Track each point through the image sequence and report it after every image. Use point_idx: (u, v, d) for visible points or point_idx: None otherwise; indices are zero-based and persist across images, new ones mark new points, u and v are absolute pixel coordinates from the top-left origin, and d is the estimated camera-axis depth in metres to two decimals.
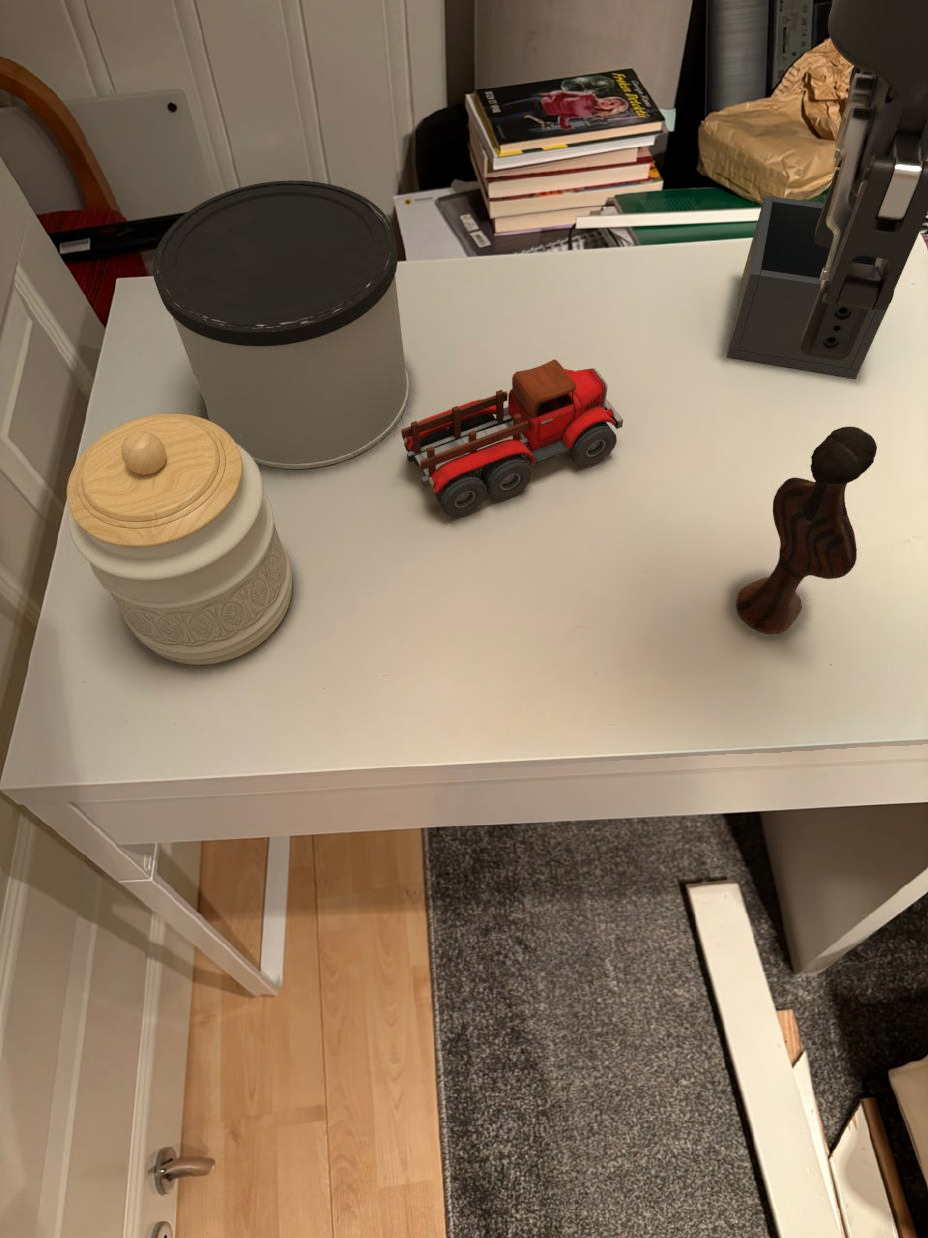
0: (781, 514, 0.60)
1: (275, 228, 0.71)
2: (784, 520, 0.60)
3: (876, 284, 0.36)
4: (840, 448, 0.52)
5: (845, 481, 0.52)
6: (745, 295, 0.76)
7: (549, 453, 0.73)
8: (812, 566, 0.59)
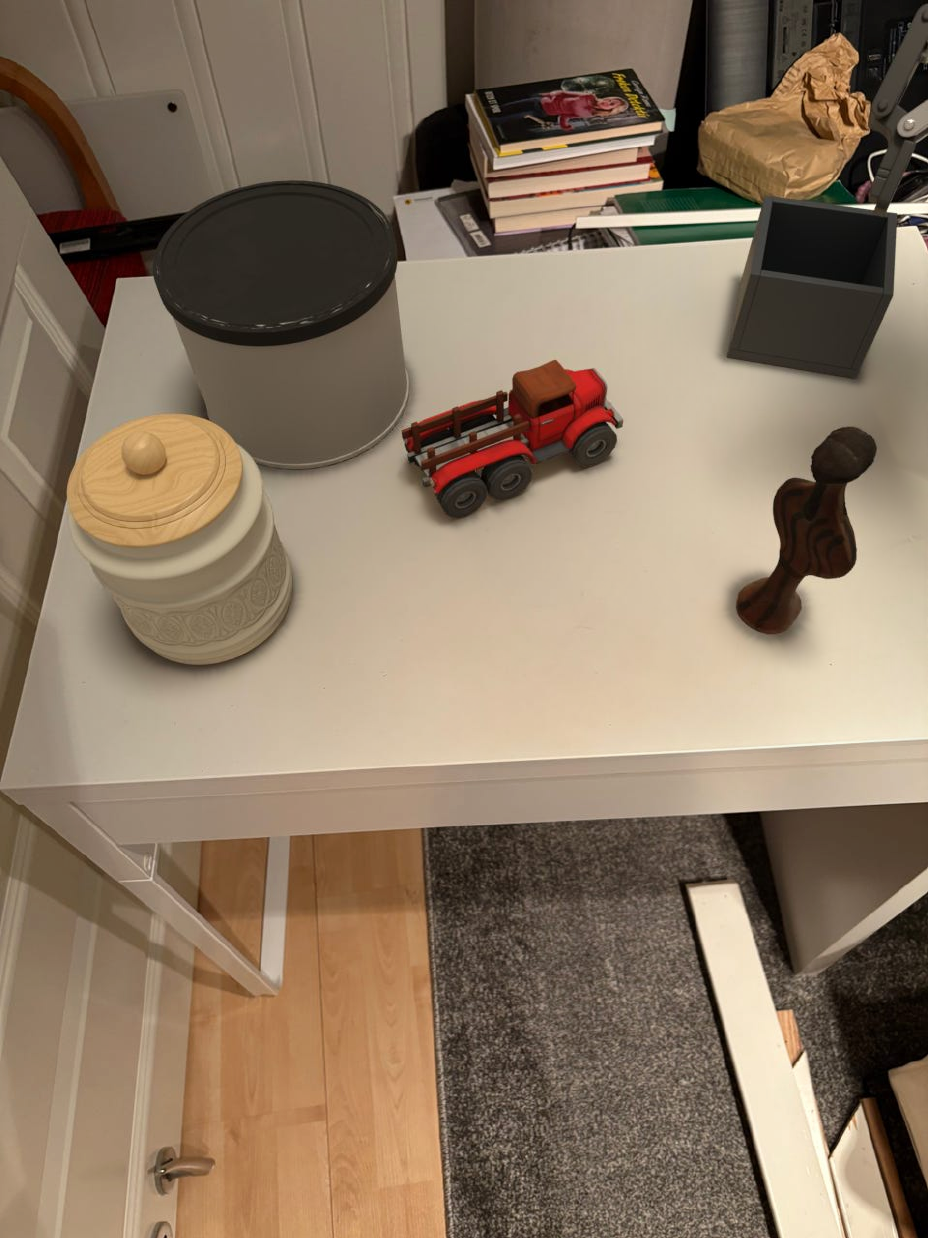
0: (781, 514, 0.60)
1: (275, 228, 0.70)
2: (784, 520, 0.60)
3: None
4: (840, 448, 0.52)
5: (845, 481, 0.52)
6: (745, 295, 0.76)
7: (549, 453, 0.73)
8: (812, 566, 0.59)
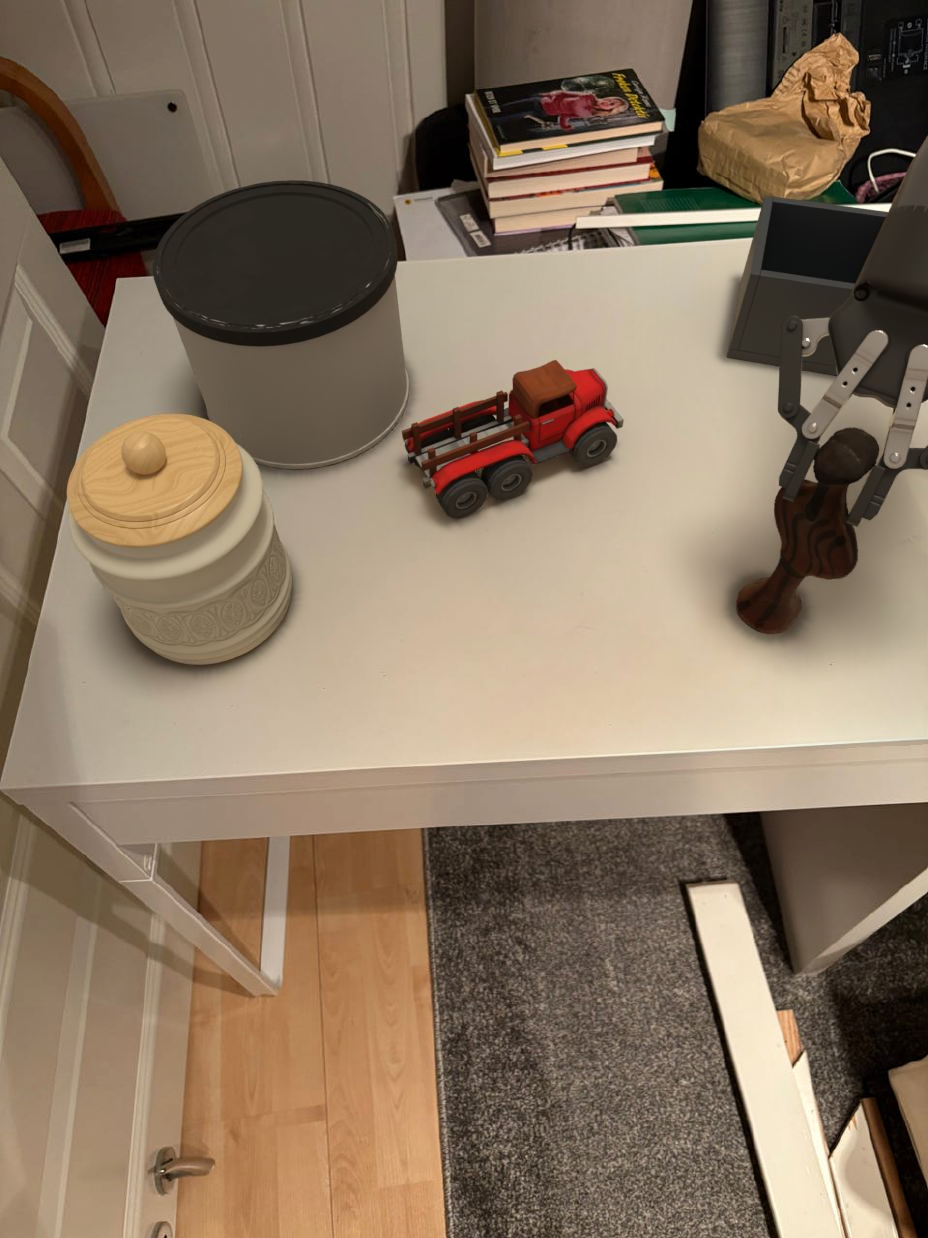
0: (782, 514, 0.60)
1: (275, 228, 0.70)
2: (785, 520, 0.60)
3: None
4: (842, 449, 0.52)
5: (848, 482, 0.52)
6: (745, 295, 0.76)
7: (550, 453, 0.73)
8: (813, 567, 0.59)
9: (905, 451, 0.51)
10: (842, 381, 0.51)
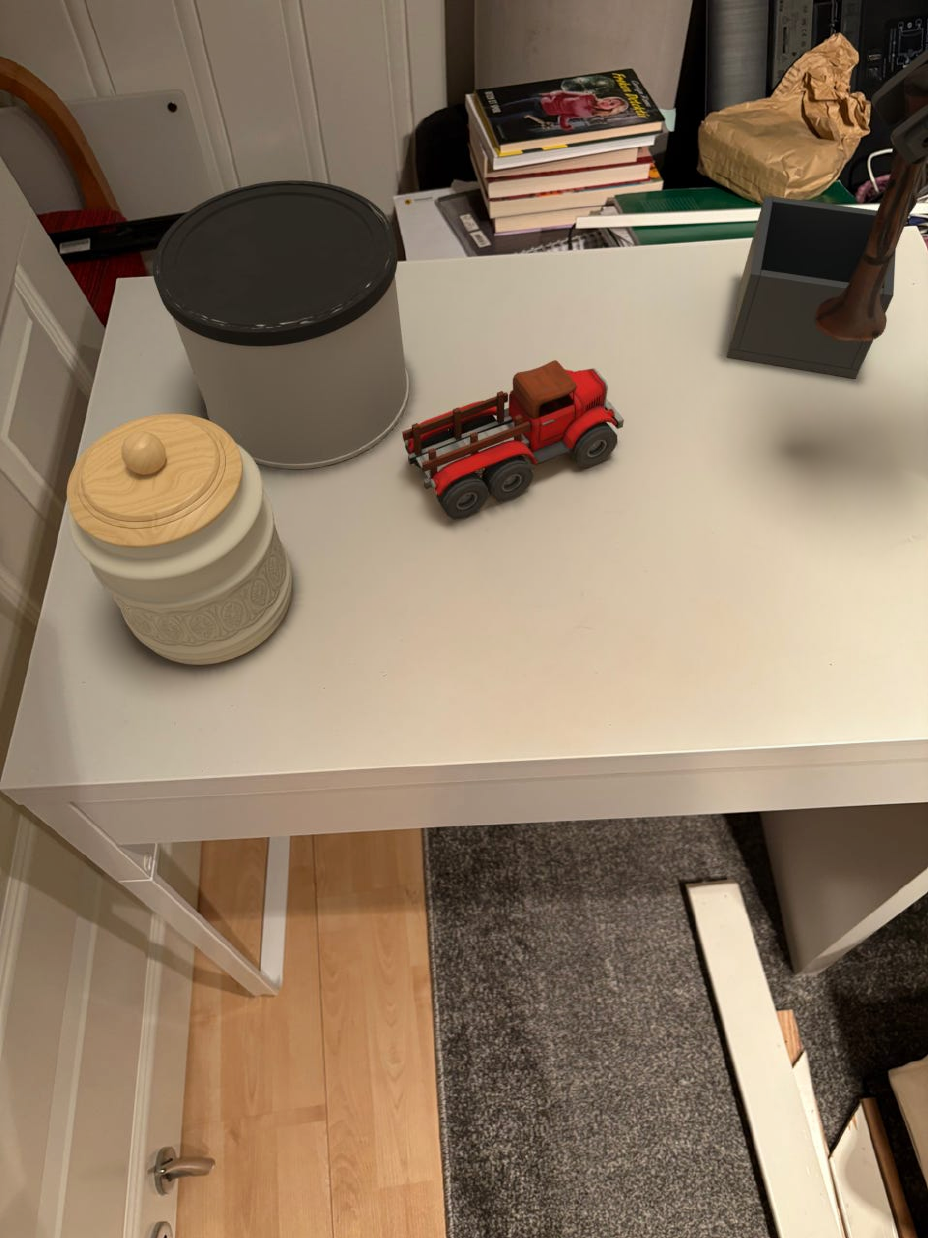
0: None
1: (275, 228, 0.70)
2: None
3: None
4: None
5: (916, 91, 0.50)
6: (745, 295, 0.76)
7: (550, 454, 0.73)
8: None
9: None
10: None
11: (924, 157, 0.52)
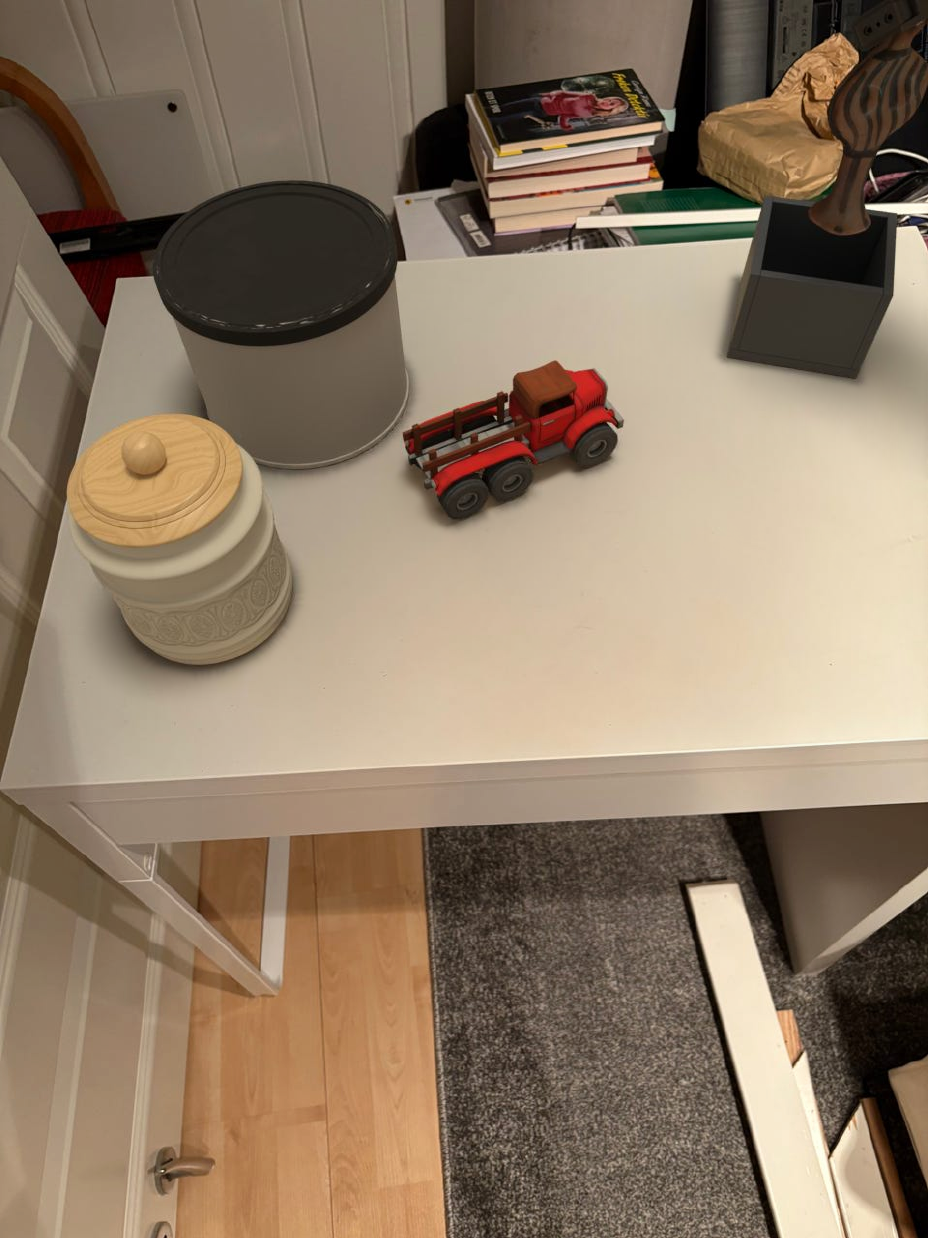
0: None
1: (275, 228, 0.70)
2: None
3: None
4: None
5: None
6: (745, 295, 0.76)
7: (550, 454, 0.73)
8: None
9: None
10: None
11: (883, 56, 0.63)
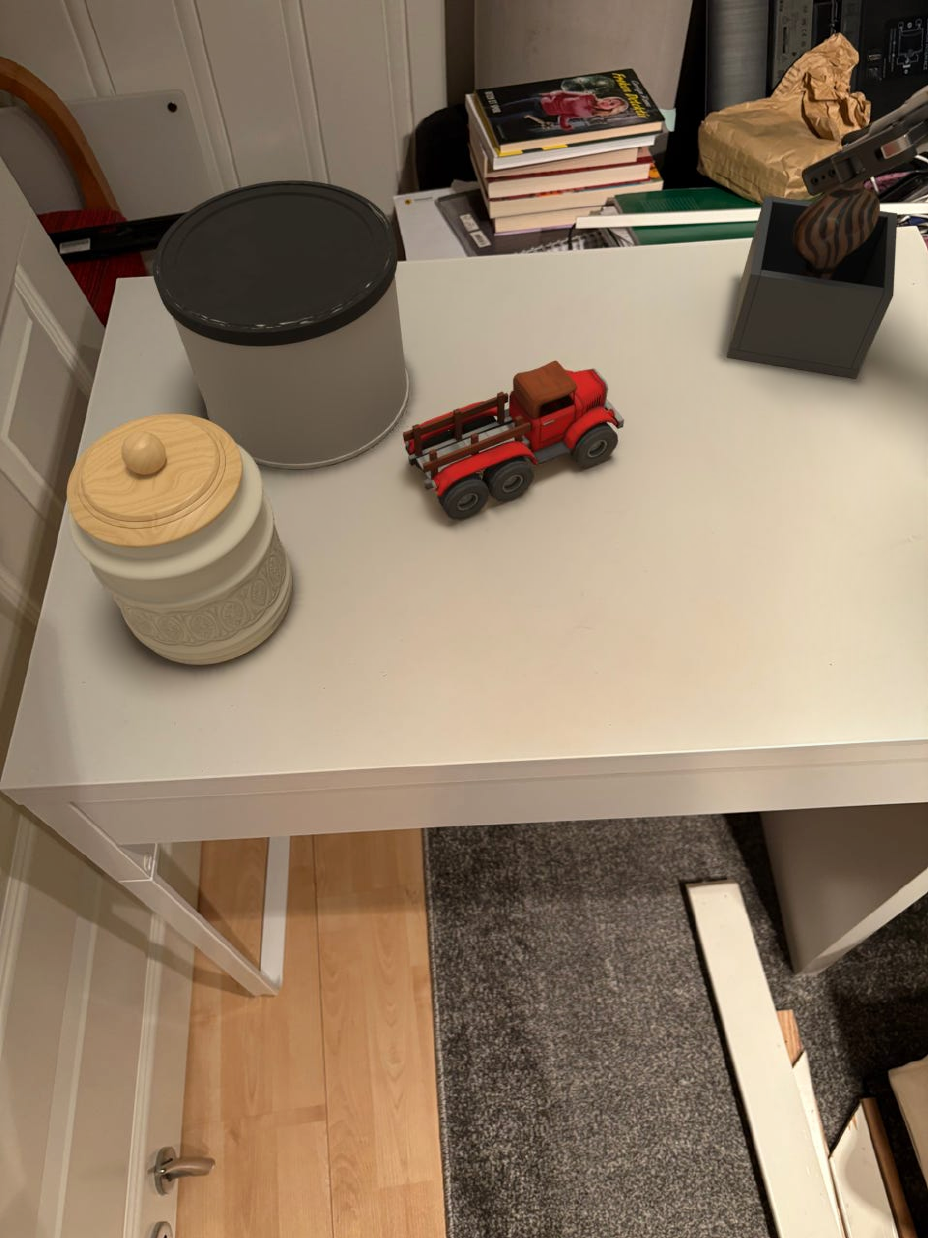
0: None
1: (275, 228, 0.70)
2: None
3: None
4: (868, 128, 0.68)
5: (841, 141, 0.69)
6: (745, 295, 0.76)
7: (551, 454, 0.73)
8: None
9: (851, 144, 0.65)
10: (927, 86, 0.66)
11: (839, 195, 0.72)
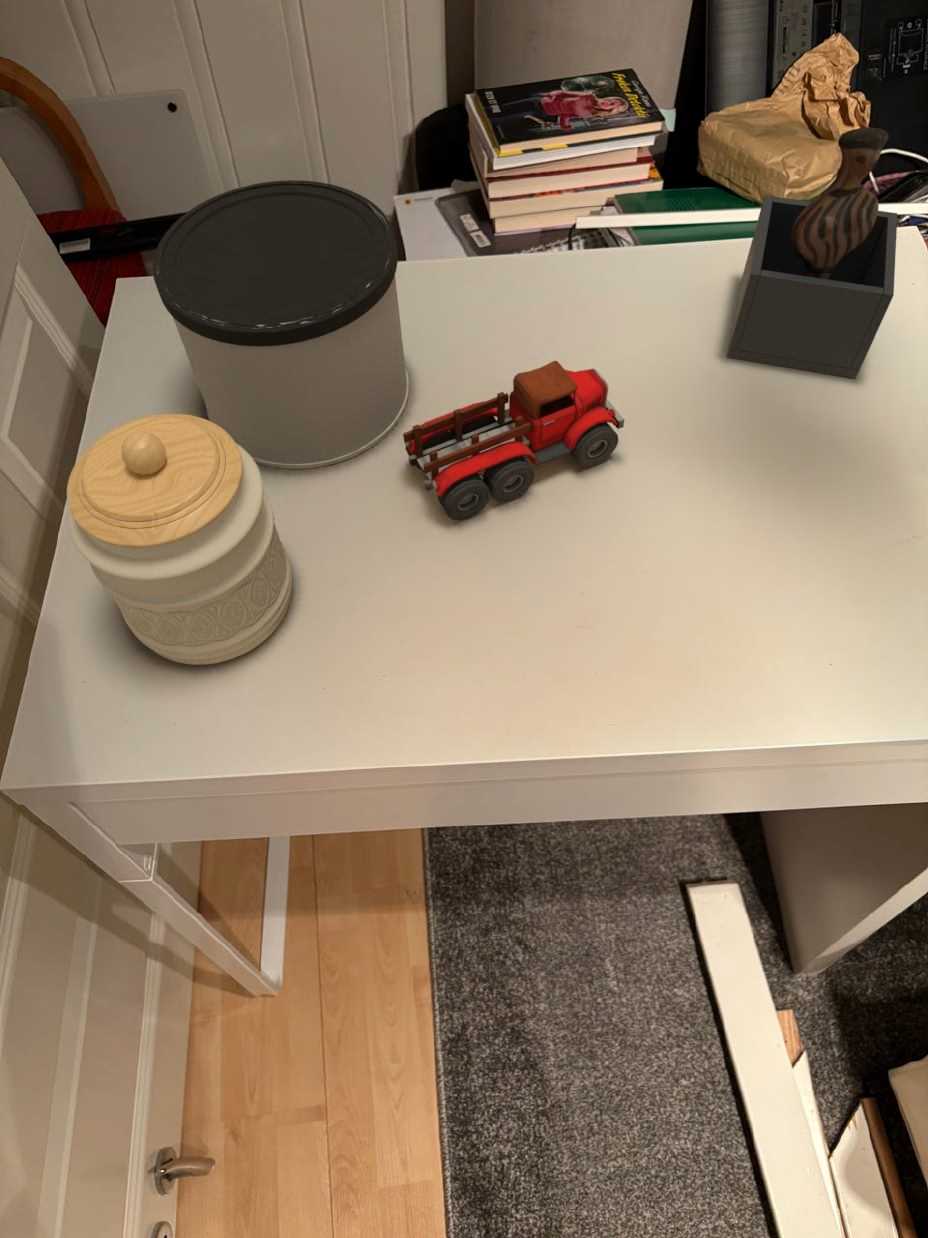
0: None
1: (275, 228, 0.70)
2: None
3: None
4: (865, 127, 0.69)
5: None
6: (745, 295, 0.76)
7: (551, 454, 0.73)
8: None
9: None
10: None
11: (837, 194, 0.72)
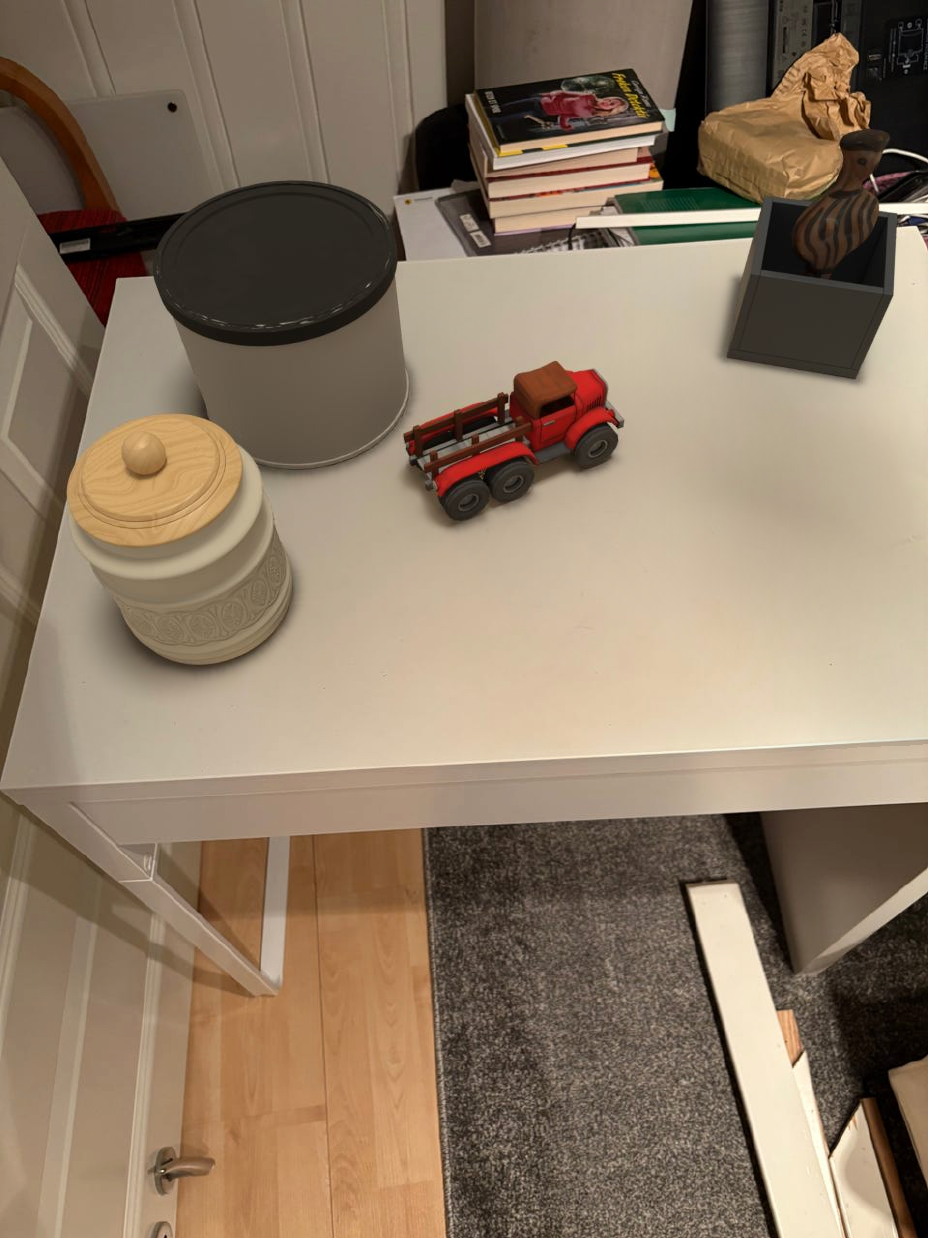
0: None
1: (275, 228, 0.70)
2: None
3: None
4: (866, 129, 0.68)
5: None
6: (745, 295, 0.76)
7: (551, 454, 0.73)
8: None
9: None
10: None
11: (838, 196, 0.72)
